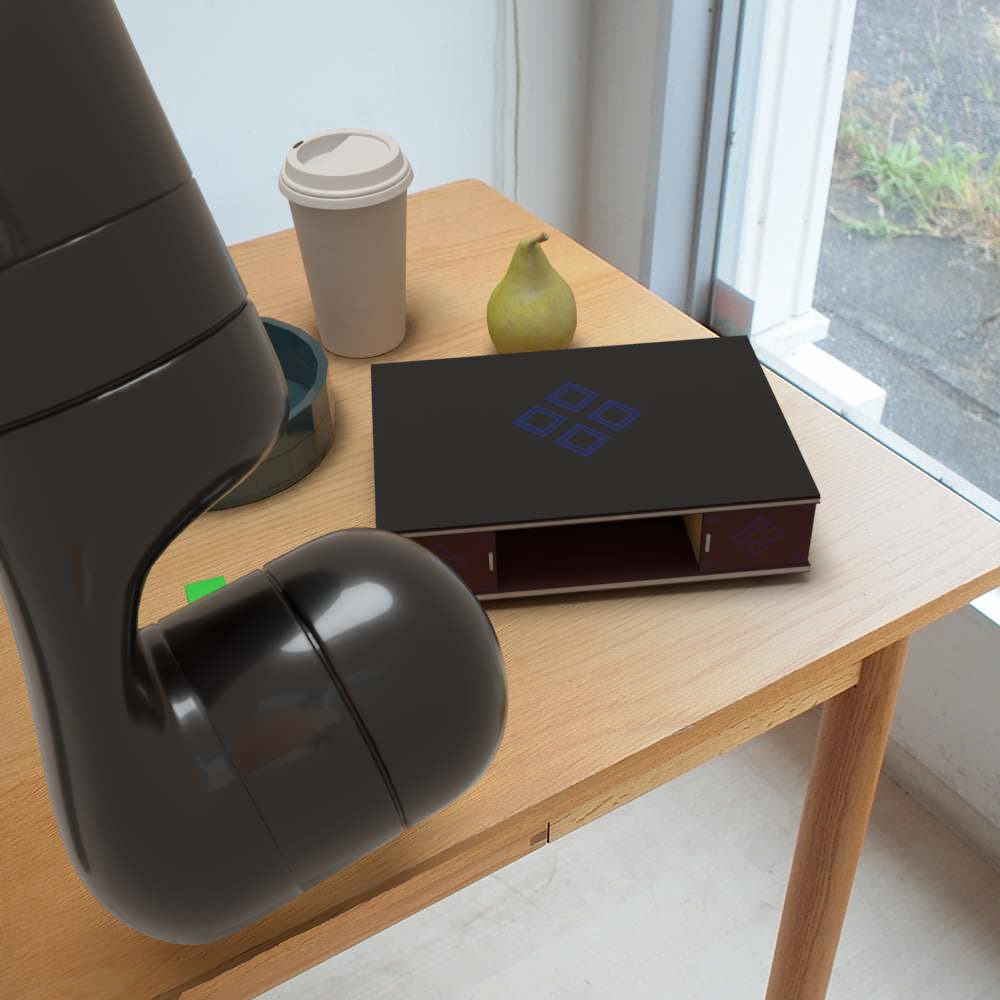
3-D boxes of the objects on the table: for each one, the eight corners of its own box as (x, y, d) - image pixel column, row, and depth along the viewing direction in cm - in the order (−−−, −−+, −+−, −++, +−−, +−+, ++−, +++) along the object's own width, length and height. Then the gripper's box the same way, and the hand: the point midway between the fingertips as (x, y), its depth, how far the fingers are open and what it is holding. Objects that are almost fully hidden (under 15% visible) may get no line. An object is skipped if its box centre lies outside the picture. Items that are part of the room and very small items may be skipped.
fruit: (561, 325, 102) (561, 180, 94) (593, 376, 96) (595, 226, 89) (477, 339, 101) (470, 194, 93) (504, 392, 95) (499, 241, 87)
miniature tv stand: (808, 583, 78) (821, 495, 74) (386, 620, 77) (375, 533, 73) (739, 416, 92) (747, 334, 88) (379, 445, 90) (370, 363, 86)
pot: (112, 536, 84) (95, 474, 80) (84, 401, 96) (67, 342, 93) (362, 476, 88) (355, 414, 85) (304, 353, 100) (296, 295, 97)
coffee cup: (368, 291, 107) (350, 112, 98) (450, 332, 102) (439, 147, 92) (275, 338, 102) (246, 154, 92) (357, 384, 96) (335, 194, 87)
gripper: (416, 561, 48) (362, 595, 64) (17, 668, 45) (62, 676, 60) (471, 761, 48) (403, 745, 63) (70, 886, 44) (103, 836, 60)
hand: (237, 711), depth 62 cm, fingers open, 8 cm apart
